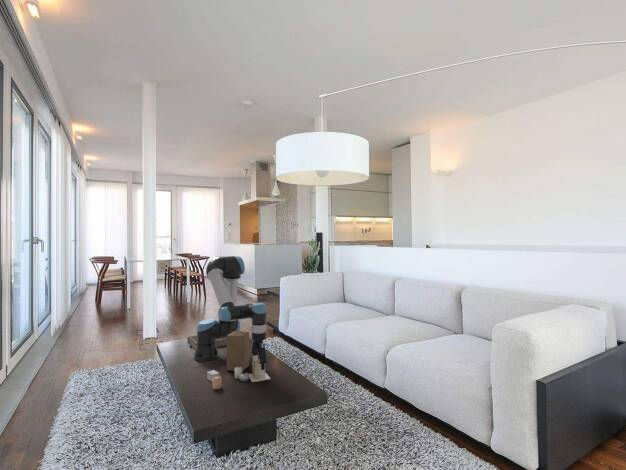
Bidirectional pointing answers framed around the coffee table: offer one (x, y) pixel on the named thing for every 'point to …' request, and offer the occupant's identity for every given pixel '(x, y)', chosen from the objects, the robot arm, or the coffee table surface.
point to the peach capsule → (217, 382)
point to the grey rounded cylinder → (238, 372)
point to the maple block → (256, 369)
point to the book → (193, 342)
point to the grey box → (212, 374)
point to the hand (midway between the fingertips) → (258, 371)
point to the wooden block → (237, 350)
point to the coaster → (258, 378)
